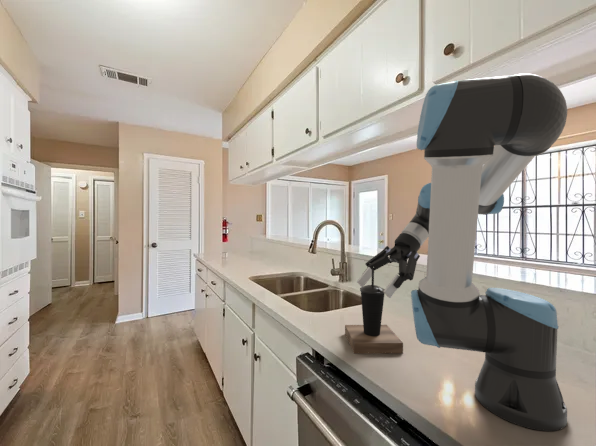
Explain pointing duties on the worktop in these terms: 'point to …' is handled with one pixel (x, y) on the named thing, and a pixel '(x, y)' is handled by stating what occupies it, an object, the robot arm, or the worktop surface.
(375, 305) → the drinking cup
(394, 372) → the worktop surface
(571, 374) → the worktop surface
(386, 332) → the walnut riser
